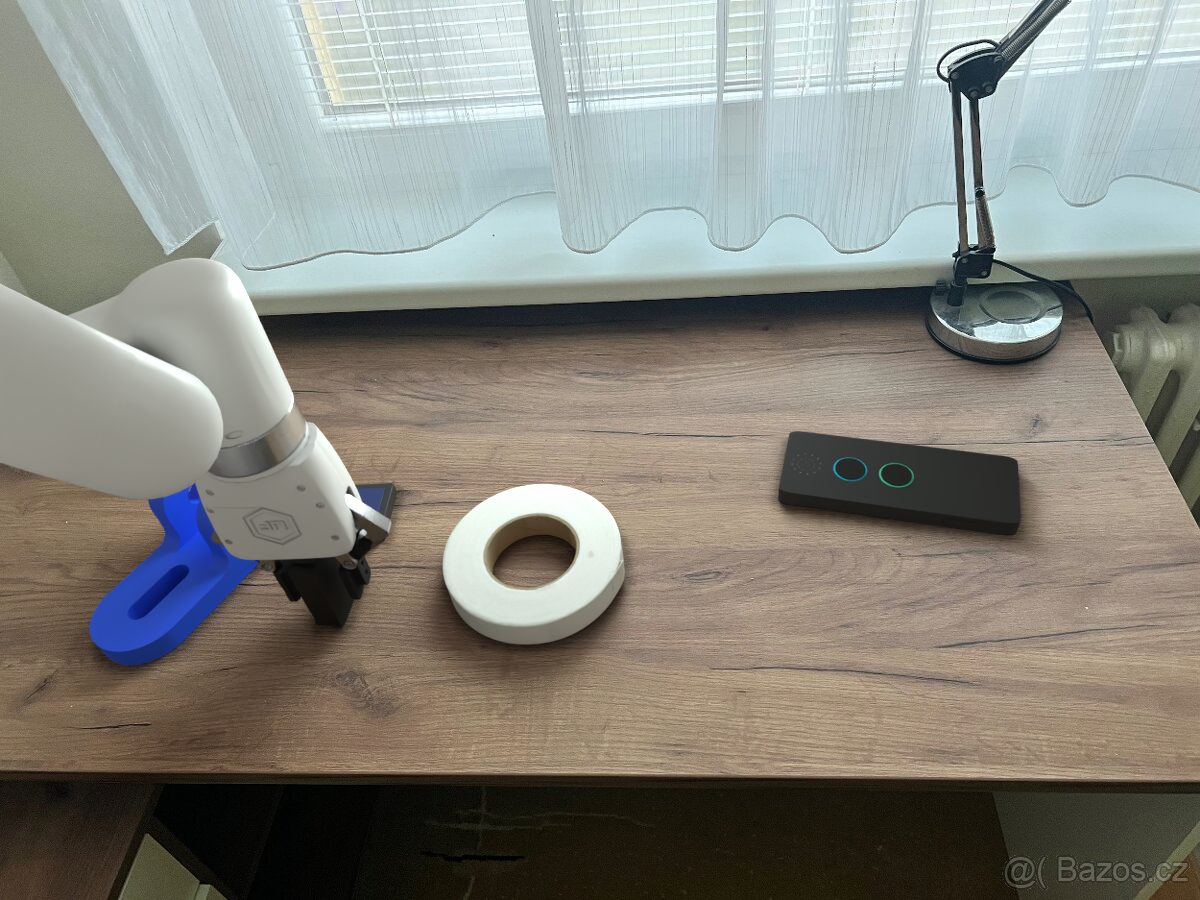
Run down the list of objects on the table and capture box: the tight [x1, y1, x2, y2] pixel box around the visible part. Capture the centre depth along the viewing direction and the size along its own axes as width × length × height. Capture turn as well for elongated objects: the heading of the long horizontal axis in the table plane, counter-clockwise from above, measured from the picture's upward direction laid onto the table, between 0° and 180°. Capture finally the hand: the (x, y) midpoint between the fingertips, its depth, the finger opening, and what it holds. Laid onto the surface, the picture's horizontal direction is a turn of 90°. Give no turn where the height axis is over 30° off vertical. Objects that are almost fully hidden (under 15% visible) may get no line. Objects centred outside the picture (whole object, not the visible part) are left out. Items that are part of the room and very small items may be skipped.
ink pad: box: [355, 482, 398, 541], centre depth 82 cm, size 9×6×2 cm, turn 88°
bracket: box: [89, 483, 260, 666], centre depth 76 cm, size 18×8×9 cm, turn 151°
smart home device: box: [777, 430, 1022, 536], centre depth 78 cm, size 8×2×20 cm
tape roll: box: [442, 483, 626, 645], centre depth 75 cm, size 16×15×3 cm
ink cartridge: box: [287, 557, 355, 628], centre depth 73 cm, size 5×2×8 cm, turn 173°
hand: (329, 585), depth 74 cm, fingers open, 4 cm apart
